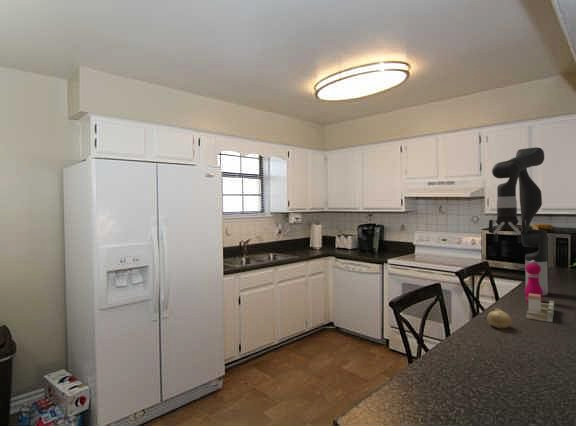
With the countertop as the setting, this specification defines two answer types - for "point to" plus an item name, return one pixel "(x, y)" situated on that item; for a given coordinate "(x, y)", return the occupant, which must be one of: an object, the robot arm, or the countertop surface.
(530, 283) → the pepper mill
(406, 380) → the countertop surface
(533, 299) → the plug
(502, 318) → the onion
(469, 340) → the countertop surface
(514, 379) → the countertop surface
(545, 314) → the comb rack
